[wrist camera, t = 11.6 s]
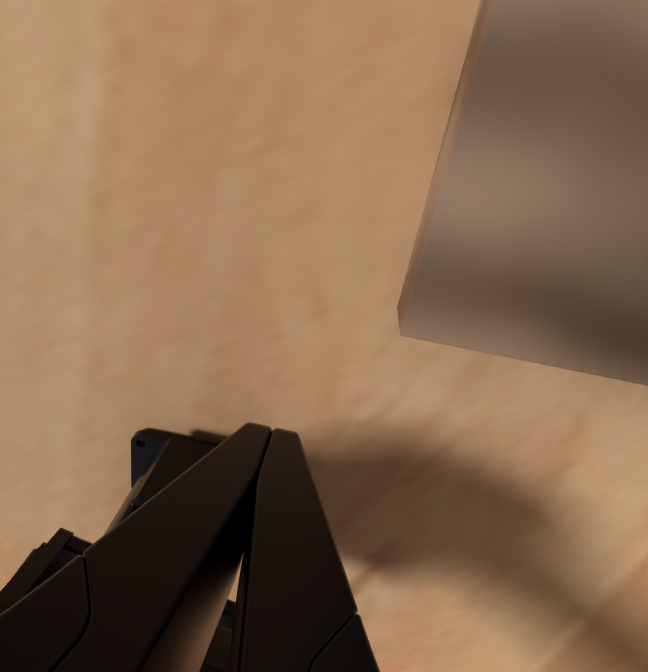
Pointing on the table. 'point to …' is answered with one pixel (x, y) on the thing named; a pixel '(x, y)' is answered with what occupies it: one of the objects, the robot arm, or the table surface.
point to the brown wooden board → (542, 193)
